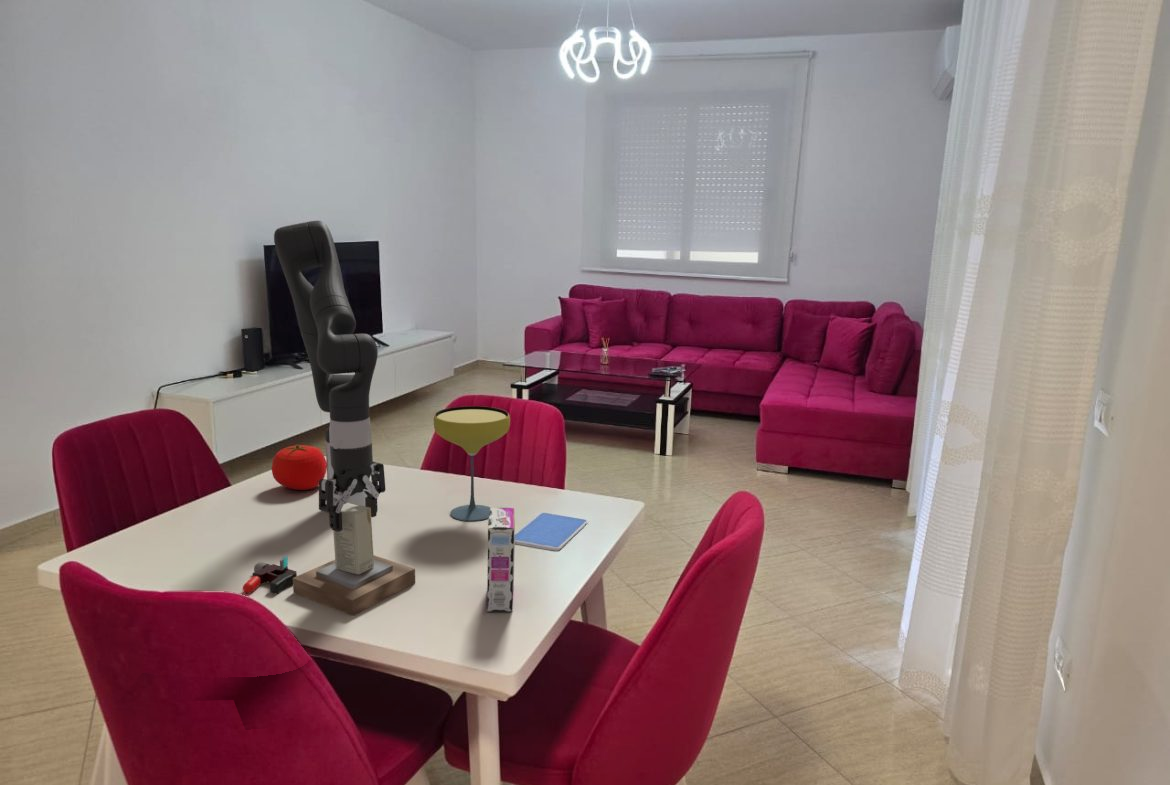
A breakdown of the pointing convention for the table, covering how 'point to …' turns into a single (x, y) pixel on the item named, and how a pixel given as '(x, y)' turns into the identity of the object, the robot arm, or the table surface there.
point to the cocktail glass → (471, 443)
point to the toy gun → (271, 576)
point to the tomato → (299, 467)
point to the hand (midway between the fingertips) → (354, 523)
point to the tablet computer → (549, 531)
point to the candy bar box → (500, 560)
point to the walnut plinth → (353, 585)
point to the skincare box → (354, 540)
